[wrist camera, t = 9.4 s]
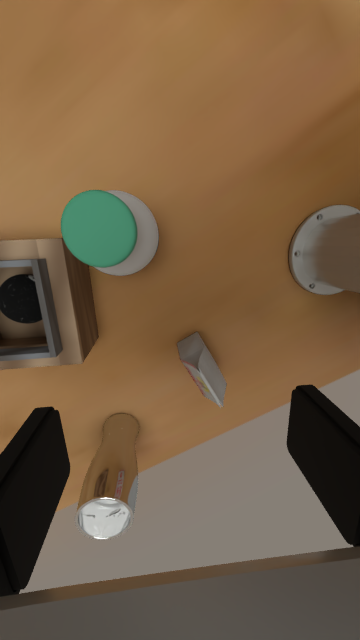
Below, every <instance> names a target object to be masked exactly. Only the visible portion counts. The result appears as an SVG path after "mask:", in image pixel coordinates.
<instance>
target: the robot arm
mask: <svg viewBox="0 0 360 640" xmlns="http://www.w3.org/2000/svg"><path fill="white" fill-rule="evenodd" d="M295 253H296V254H295ZM294 254H295V255H294ZM289 266H290V270H291V273H292V275H293V277H294V279H295V280H296V282H297V283H298V284H299V285H300V286H301V287H302V288H304V289H305V290H307V291H309V292H312V293H315V294H320V295H332V294H336V293H339V292H342V291H344V290H348V291H353V292H357V293H360V210H358V209H356V208H354V207H351V206H348V205H334V206H329V207H325V208H322V209H320V210H318V211H316V212H314V213H313V214H312V215H310V216H309V217H308V218H307V219H306V220H305V221H304V222H303V223H302V224H301V225H300V226H299V228H298V229H297V231H296V233H295V235H294V237H293V239H292V242H291V245H290V250H289ZM309 285H310V286H309ZM287 447H288V451H289V453H290V455H291V456H292V458H293V459H294V461H295V462H296V464H297V465H298V467H299V468H300V470H301V471H302V473H303V475H304V476H305V478H306V480H307V481H308V483H309V484H310V486H311V487H312V489H313V491H314V492H315V494H316V495H317V497H318V498H319V500H320V501H321V503H322V505H323V506H324V508H325V509H326V511H327V512H328V514H329V516H330V517H331V519H332V520H333V522H334V523H335V525H336V527H337V528H338V530H339V531H340V533H341V534H342V536H343V537H344V539H345V540H346V542H347V543H348V544H350V545H353V546H354V547H351V548H342V549H334V550H327V551H319V552H311V553H304V554H296V555H289V556H280V557H273V558H265V559H258V560H250V561H243V562H236V563H228V564H221V565H213V566H206V567H199V568H192V569H184V570H177V571H170V572H163V573H156V574H148V575H141V576H134V577H127V578H120V579H113V580H106V581H99V582H93V583H85V584H78V585H72V586H64V587H58V588H52V589H46V590H40V591H34V592H28V593H22V594H19V592H20V590H21V589H24V588H25V587H26V586H27V584H28V582H29V580H30V577H31V574H32V572H33V569H34V566H35V564H36V561H37V558H38V556H39V553H40V550H41V548H42V545H43V542H44V540H45V537H46V535H47V532H48V529H49V527H50V524H51V522H52V519H53V516H54V514H55V511H56V508H57V506H58V503H59V500H60V498H61V495H62V493H63V490H64V487H65V485H66V482H67V479H68V477H69V473H70V462H69V458H68V453H67V448H66V443H65V439H64V434H63V429H62V424H61V419H60V415H59V411H58V410H54V408H53V407H41V408H35V409H34V410H33V412H32V413H31V414H30V416H29V417H28V418H27V420H26V421H25V422H24V424H23V425H22V426H21V428H20V429H19V431H18V432H17V433H16V435H15V436H14V437H13V439H12V440H11V441H10V443H9V444H8V445H7V447H6V448H5V449H4V451H3V452H2V453H1V454H0V640H360V427H359V426H358V425H357V424H356V423H355V422H354V421H353V420H351V419H350V418H349V417H348V416H347V415H346V414H345V413H344V412H342V411H341V410H340V409H339V408H338V407H337V406H336V405H335V404H334V403H332V402H331V401H330V400H329V399H328V398H327V397H326V396H325V395H324V394H322V393H321V392H320V391H319V390H318V389H317V388H316V387H315V386H313V385H300V386H297V387H296V389H295V390H293V391H292V397H291V407H290V416H289V425H288V436H287Z"/></svg>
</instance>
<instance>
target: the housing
mask: <svg viewBox="0 0 360 640" xmlns="http://www.w3.org/2000/svg"><path fill="white" fill-rule="evenodd" d="M19 274H28V275H32V276H34V280H35V284H36V289H37V294H38V299H39V304H40V309H41V314H42V320H41V321H38V322H36V323H30V324H24V323H19V322H15V321H13V320H11V319H9V318H7V317H6V316H5V315H4V314H3V313H2V312H1V311H0V370H3V369H16V368H30V367H43V366H56V365H70V364H82V363H83V362H84V360H85V358H86V357H87V355H88V354H89V352H90V350H91V349H92V347H93V346H94V344H95V342H96V341H97V339H98V330H97V322H96V315H95V308H94V301H93V294H92V287H91V280H90V273H89V266H88V265H87V264H85V263H83V262H82V261H80V260H79V259H77V258H76V257H75V256H74V255H73V254H72V253H71V251H70V250H69V249H68V247H67V246H66V244H65V242H64V239H63V238H56V239H29V240H3V241H0V286H1V285H2V283H3V282H4V281H5V280H7V279H8V278H10V277H12V276H15V275H19Z"/></svg>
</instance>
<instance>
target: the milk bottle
mask: <svg viewBox="0 0 360 640" xmlns="http://www.w3.org/2000/svg"><path fill="white" fill-rule="evenodd" d="M61 232H62V236H63V239H64V242H65V244H66V246H67V247H68V249H69V250H70V251H71V253H72V254H73V255H74V256H75V257H76V258H77V259H79V260H80V261H82V262H83V263H85V264H87V265H90V266H93V267H95V268H96V269H98V270H99V271H101V272H104V273H106V274H110V275H117V276H124V275H130V274H133V273H136V272H138V271H140V270H141V269H143V268H144V267H145V266H146V265H147V264H149V262H150V261H151V260H152V259H153V257H154V255H155V253H156V251H157V247H158V242H159V231H158V226H157V223H156V220H155V218H154V216H153V214H152V212H151V211H150V209H149V208H148V207H147V206H146V205H145V204H144V203H143V202H142V201H141V200H140V199H138V198H137V197H135V196H133V195H131V194H129V193H126V192H123V191H117V190H109V191H101V190H89V191H85V192H82V193H80V194H78V195H76V196H75V197H74V198H72V199H71V200H70V201H69V203H68V204H67V205H66V207H65V209H64V211H63V214H62V218H61Z"/></svg>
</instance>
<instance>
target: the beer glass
mask: <svg viewBox="0 0 360 640" xmlns="http://www.w3.org/2000/svg"><path fill="white" fill-rule="evenodd" d="M138 434H139V423H138V421H137V420H136V419H135V418H134V417H133V416H131V415H128V414H124V413H119V414H115V415H112V416H110V417H109V418H108V419H107V420H106V421H105V423H104V425H103V437H102V442H101V444H100V446H99V448H98V450H97V452H96V454H95V456H94V458H93V460H92V462H91V464H90V466H89V468H88V471H87V473H86V476H85V479H84V482H83V486H82V489H81V493H80V498H79V502H78V507H77V512H76V515H75V524H76V527H77V528H78V529H79V531H80V532H81V533H82V534H84V535H85V536H87V537H89V538H92V539H98V540H109V539H113V538H116V537H119V536H121V535H122V534H124V533H125V532H127V531H128V530H129V528H130V527H131V525H132V523H133V519H134V511H135V504H136V498H137V490H138V465H137V457H136V448H135V445H136V440H137V437H138Z"/></svg>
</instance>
